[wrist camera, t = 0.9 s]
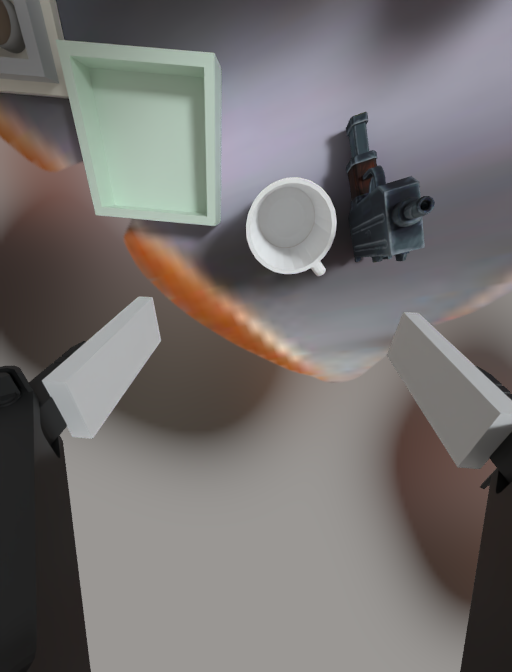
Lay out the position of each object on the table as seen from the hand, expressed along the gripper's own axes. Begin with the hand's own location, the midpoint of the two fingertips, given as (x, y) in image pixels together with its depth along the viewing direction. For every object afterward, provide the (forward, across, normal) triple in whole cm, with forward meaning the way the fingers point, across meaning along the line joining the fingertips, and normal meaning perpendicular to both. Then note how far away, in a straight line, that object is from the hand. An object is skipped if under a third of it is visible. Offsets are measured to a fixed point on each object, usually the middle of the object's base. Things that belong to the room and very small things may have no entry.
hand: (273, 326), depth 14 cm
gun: (+26, +10, +5) cm, 28 cm away
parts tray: (+25, -15, +9) cm, 31 cm away
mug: (+26, +2, +2) cm, 26 cm away
